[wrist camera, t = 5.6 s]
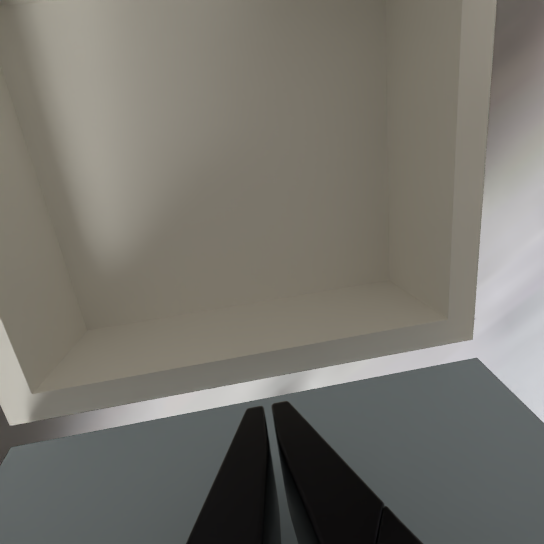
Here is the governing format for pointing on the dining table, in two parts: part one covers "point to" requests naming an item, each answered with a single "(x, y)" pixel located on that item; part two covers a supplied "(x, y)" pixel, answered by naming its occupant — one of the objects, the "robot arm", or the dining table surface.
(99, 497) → the lid flap
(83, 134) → the open box
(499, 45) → the dining table surface
